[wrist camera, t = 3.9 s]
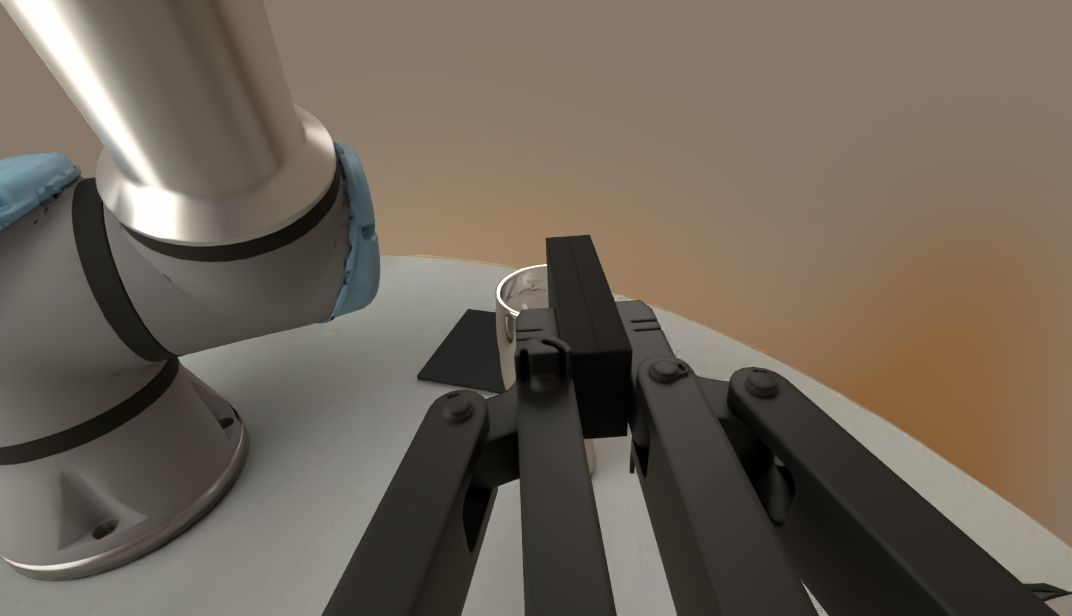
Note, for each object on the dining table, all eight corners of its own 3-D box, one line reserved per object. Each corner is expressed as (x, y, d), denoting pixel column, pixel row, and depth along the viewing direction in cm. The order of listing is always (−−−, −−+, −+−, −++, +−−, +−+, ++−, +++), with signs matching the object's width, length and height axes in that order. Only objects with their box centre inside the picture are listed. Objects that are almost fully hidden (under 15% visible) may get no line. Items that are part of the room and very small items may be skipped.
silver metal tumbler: (531, 417, 41) (520, 256, 33) (612, 439, 39) (621, 271, 31) (493, 481, 36) (469, 308, 28) (584, 511, 34) (586, 331, 26)
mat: (417, 378, 46) (416, 375, 46) (468, 311, 56) (467, 308, 56) (644, 418, 41) (644, 415, 41) (657, 336, 50) (657, 333, 50)
